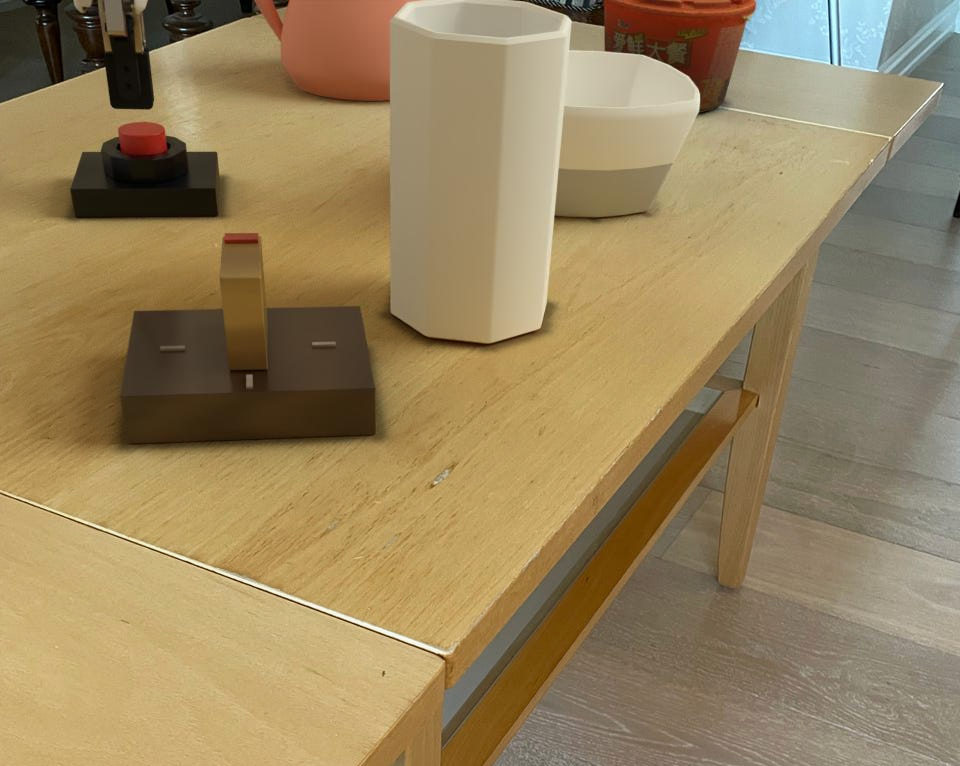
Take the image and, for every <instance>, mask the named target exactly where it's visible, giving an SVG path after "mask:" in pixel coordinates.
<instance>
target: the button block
mask: <svg viewBox="0 0 960 766" xmlns="http://www.w3.org/2000/svg"><path fill="white" fill-rule="evenodd" d="M166 142H167V150H166V151H164V152H162V153H158V154H152V155H132V154H127V153H122V152H121V148H120V141H119V136H115V137H112V138H110V139H108V140H105V141H104V142H102V145H101V147H100V151H82V152H81V154H80V158H79V161H78V164H77V166H76V167H77V168H76V171H75V174H74V177H73V180H72V183H71V187H70V191H69V192H70V197H71V202H72V207H73V213H74V217H75V218H139V217H140V218H141V217H143V218H144V217H145V218H146V217H147V218H148V217H152V218H153V217H155V218H156V217H218V216H219V207H220V206H219V203H220V181H221V180H220V179H221V177H220V167H219V166H220V165H219V155H218V152H217V151H188V150H187V143H186V142H185V141H183V140H181V139H179V138H177V137H176V136H172V135H166Z"/></svg>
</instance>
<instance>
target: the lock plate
mask: <svg viewBox="0 0 960 766" xmlns="http://www.w3.org/2000/svg"><path fill="white" fill-rule="evenodd" d="M266 308H267V321H268V369H267V370H229V366H228V356H227V346H226V336H225V326H224V317H223V308H211V309H209V308H207V309H205V308H204V309H166V310H165V309H164V310H161V309H160V310H159V309H158V310H157V309H156V310H133V315H132V321H131V325H130V326H131V327H130V332H129V333H130V334H129V338H128V339H129V340H128V345H127V351H126V358H125V362H124V363H125V364H124V368H123V369H124V370H123V374H122V375H123V376H122V382H121V388H120V394H119V399H120V405H121V411H122V417H123V423H124V428H125V429H124V430H125V434H126V440H127V444H128V445H134V444H135V445H137V444H159V443H162V444H163V443H186V442H187V443H188V442H213V441H236V440H238V441H240V440H241V441H242V440H263V439H265V440H266V439H288V438H289V439H291V438H292V439H293V438H317V437H319V438H320V437H338V436H339V437H343V436H368V435H369V436H370V435H371V436H372V435H376V434H377V409H376V407H377V406H376V405H377V404H376V403H377V402H376V399H377V398H376V385H375V380H374V373H373V369H372V364H371V357H370V352H369V345H368V341H367V335H366V330H365V324H364V319H363V313H362V309H361V305H351V306H349V305H345V306H344V305H343V306H303V307H302V306H299V307H298V306H297V307H296V306H295V307H294V306H293V307H266Z"/></svg>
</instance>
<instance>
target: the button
mask: <svg viewBox="0 0 960 766" xmlns="http://www.w3.org/2000/svg"><path fill="white" fill-rule="evenodd" d="M117 133H118V137H119V141H120V148H121V152H122V153H127V154H132V155H152V154H158V153H162V152H164V151H166V150H167V142H166V136H167V134H166V128H165V126H164V125H162V124H160V123H157V122H152V121H151V122H150V121H134V122H129V123H125V124H122V125H120V126H119V127H118V128H117Z"/></svg>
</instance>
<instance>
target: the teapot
mask: <svg viewBox="0 0 960 766" xmlns="http://www.w3.org/2000/svg"><path fill="white" fill-rule="evenodd" d="M253 1H254V3H255V5H256V7H257V8H258V10H259V11H260V13H261V15H262V17H263V18H264V19H265V21H266V23H267V24H268V25H269V27H270V29H271V30H272V31H273V33H274V35H275V36H276V37H277V39H278V41H279V42H280V60H281V63H282V66H283V68H284V69H285V71H286V73H287V74H288V76H289V77H290V78H291V80H292V82H294V84H295V85H296V87H297V88H299V89H300V90H301V91H303V92H305V93H308V94H311V95H315V96H319V97H325V98H331V99H338V100H347V101H363V102H364V101H365V102H366V101H367V102H376V101H377V102H378V101H380V102H382V101H383V102H384V101H390V20H391V19H392V18H393V17H394V16H395V15H396V13H397V12H398V11H399V10H400V9H401V8H402V7H403V6H404V5H405V4H406V3H407V2H412V1H422V0H289V1H288V3H287V6H286V9H285V14H284V17H283V22H282V19H281V17H280V15H279V12H278V11H277V8H276V6H275V3H274V0H253Z"/></svg>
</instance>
